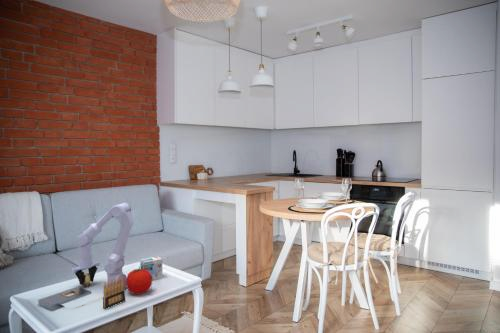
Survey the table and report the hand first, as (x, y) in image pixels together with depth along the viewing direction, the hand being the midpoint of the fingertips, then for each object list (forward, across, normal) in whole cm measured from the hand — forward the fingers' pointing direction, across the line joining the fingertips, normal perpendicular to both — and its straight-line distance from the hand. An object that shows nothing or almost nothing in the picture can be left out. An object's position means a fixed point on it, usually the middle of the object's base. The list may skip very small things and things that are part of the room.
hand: (86, 283), depth 189 cm
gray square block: (+3, 0, 0) cm, 3 cm away
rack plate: (+3, +14, +6) cm, 16 cm away
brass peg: (+1, 0, 0) cm, 1 cm away
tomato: (+3, -11, +28) cm, 30 cm away
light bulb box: (+3, -28, +17) cm, 33 cm away
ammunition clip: (+3, +5, +30) cm, 31 cm away
